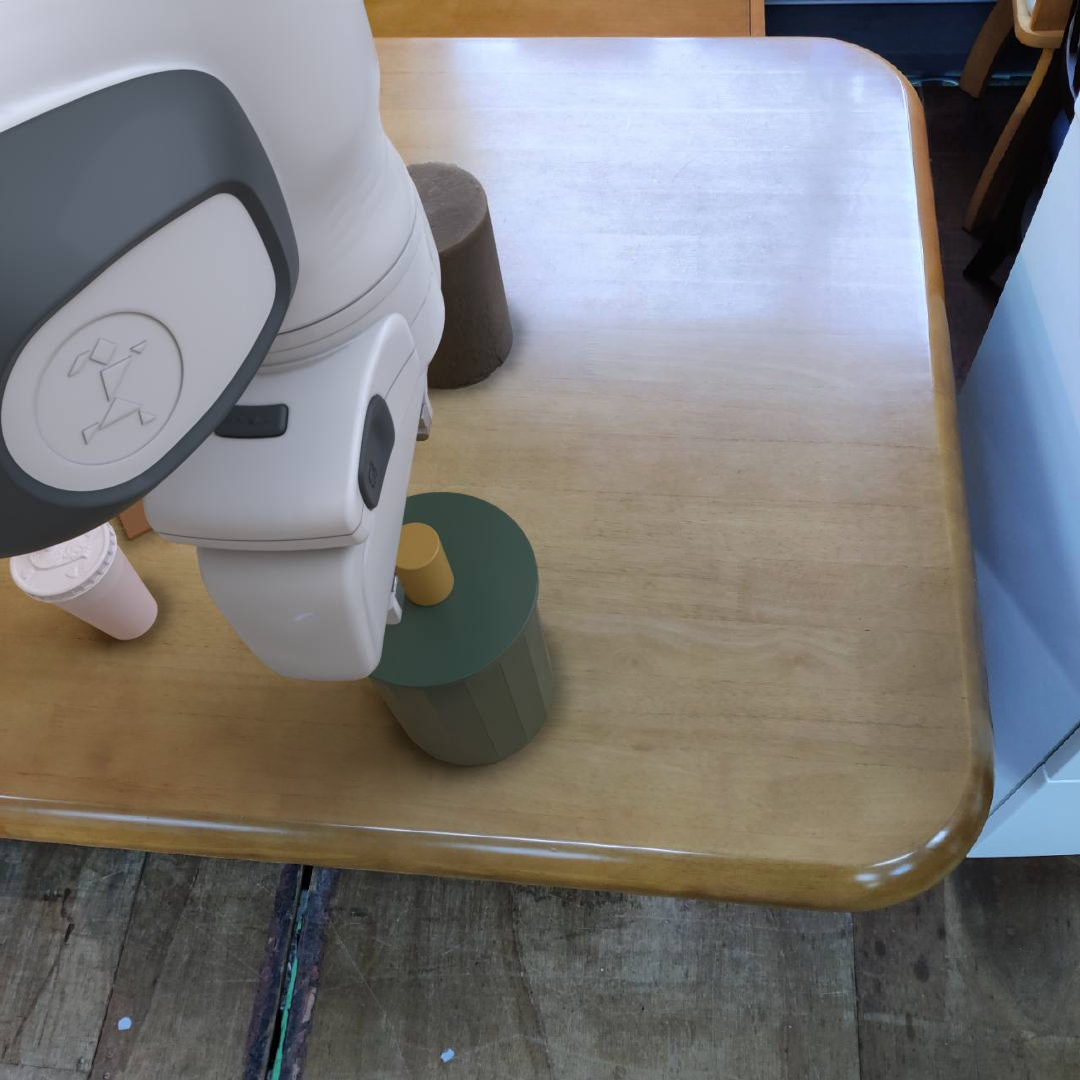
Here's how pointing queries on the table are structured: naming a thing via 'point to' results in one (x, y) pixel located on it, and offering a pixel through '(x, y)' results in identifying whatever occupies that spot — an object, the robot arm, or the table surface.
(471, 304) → the pillar candle
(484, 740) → the tin
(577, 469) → the table surface
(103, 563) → the smoothie
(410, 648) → the tin lid
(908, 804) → the table surface
